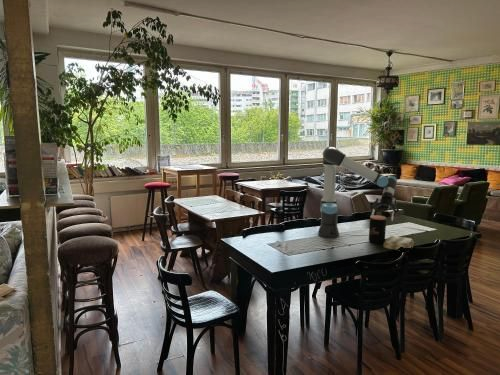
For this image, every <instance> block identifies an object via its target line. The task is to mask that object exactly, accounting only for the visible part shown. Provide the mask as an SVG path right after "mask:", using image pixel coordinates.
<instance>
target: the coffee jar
mask: <svg viewBox="0 0 500 375" xmlns="http://www.w3.org/2000/svg"><path fill="white" fill-rule="evenodd" d="M371 215H372V214H371ZM371 215H370V216H369V218H370V219H369V225H368V227H369V228H368V241H369V243H370V244H374V245H384V242H385V241H386V230H387V229H386V227H387V217H386V216H385V215H378V214H376V215H375V214H374V215H372V216H371Z"/></svg>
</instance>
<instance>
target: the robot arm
mask: <svg viewBox="0 0 500 375" xmlns="http://www.w3.org/2000/svg"><path fill="white" fill-rule="evenodd" d="M322 165H323V167H324V173H323V175H324V176H323V191H322V192H323V195H322V198H321V199H320V207H319V211H320V214H321V215H320V226H319V229H318V233H317V236H319V237H320V238H328V239H335V238H338V237H339V236H340V232H339V228H338V214H339V213H338V211H339V206H338V205H337V200H336V198H335V197H336V196H335V195H336V194H335V193H336V180H337V178H336V177H337V167H342V168H344V169H347V170H348V171H350V172H352V173H354V174H355V175H358V176H360V177H361V178H364V179H366V180H368V181H369V182H371V183H373V184H375V185H377V186H378V187H380V188H381V187H382V188H383V190H382V191H383V192H382V195H381V199H380V198H378V197H377V198H376V199H375V200H374V202H372V204H371V205H370V206H369V210H370V216H372V215H375V211H376V210H377V209H379V208H380V207H382V206H386V207H390V209H391V210H392V213H391V219H390V220H391V222H393V221H394V219H395V218H394V217H396V216H397V214H399V213H400V210H399V207H398V204H397V199H395V200H394V195H395V191H396V186H397V183H398V179H397V177H396V176H394V175H388V176H385V175H383V174H380V173H379V172H377V171H374V170H373V169H371V168H369V167H367V166H365V165H363V164H361V163H360V162H358V161H356V160H353V159H352V158H350V157H348V156H347V155H346V154H345V153H343V152H342V151H340V150H339V149H338V148H337V147H335V146H328V147H326V148H324V150H323V151H322ZM393 204H394V206H395V207H394V206H393Z"/></svg>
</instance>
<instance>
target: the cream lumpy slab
mask: <svg viewBox="0 0 500 375" xmlns="http://www.w3.org/2000/svg"><path fill="white" fill-rule="evenodd" d="M414 243H415V241H414V240H413V238H409V237H404V236H399V235H398V236H396V235H389V236H388V237H387V238H385V242H384V243H383V248H385V249H390V250H396V251H398V250H397V249H398V248H400V247H403V248H411V247H412V248H414V245H415V244H414Z"/></svg>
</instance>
